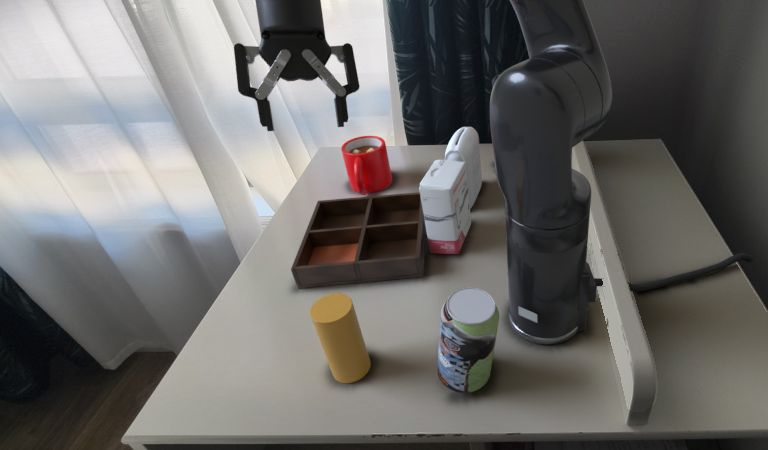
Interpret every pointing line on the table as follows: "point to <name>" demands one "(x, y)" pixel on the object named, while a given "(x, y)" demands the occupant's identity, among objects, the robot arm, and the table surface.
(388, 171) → the mug
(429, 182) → the ink box
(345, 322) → the yellow cylinder
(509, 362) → the table surface
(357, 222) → the grid
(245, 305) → the table surface
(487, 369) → the beverage can
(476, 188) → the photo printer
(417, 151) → the table surface
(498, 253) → the table surface
